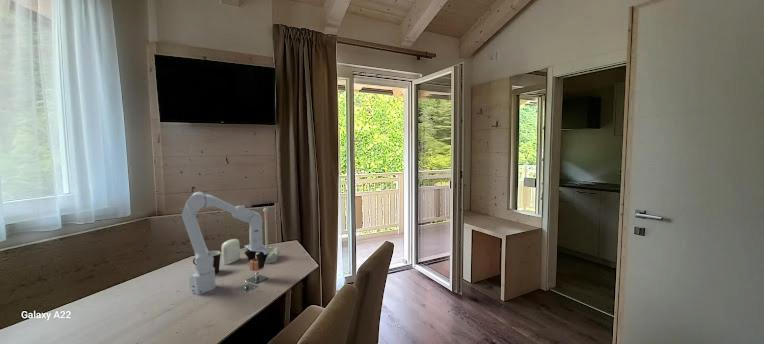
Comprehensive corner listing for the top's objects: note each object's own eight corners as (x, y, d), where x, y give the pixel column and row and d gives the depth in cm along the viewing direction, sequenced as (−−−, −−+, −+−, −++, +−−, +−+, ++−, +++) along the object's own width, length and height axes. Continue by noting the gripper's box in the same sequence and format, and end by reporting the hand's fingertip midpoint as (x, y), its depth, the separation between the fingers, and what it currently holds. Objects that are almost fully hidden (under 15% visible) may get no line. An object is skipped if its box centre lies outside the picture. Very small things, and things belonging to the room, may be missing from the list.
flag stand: (253, 258, 179) (251, 206, 176) (277, 254, 185) (275, 204, 182) (256, 265, 167) (254, 211, 165) (281, 261, 173) (279, 208, 171)
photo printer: (226, 265, 168) (225, 243, 167) (220, 264, 169) (219, 242, 168) (241, 259, 177) (240, 237, 176) (235, 258, 179) (234, 237, 178)
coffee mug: (224, 269, 162) (224, 251, 161) (214, 276, 154) (213, 256, 153) (204, 268, 163) (203, 250, 162) (192, 275, 155) (191, 256, 154)
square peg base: (256, 286, 143) (255, 276, 143) (246, 282, 147) (245, 273, 146) (268, 280, 149) (268, 271, 149) (258, 277, 153) (258, 268, 153)
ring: (255, 271, 143) (255, 263, 143) (247, 269, 146) (246, 261, 146) (266, 267, 149) (265, 259, 148) (257, 265, 151) (257, 257, 151)
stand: (245, 294, 135) (244, 285, 135) (234, 291, 138) (234, 282, 138) (258, 288, 141) (258, 279, 141) (248, 284, 144) (248, 276, 144)
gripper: (273, 238, 146) (274, 266, 147) (253, 234, 153) (254, 260, 155) (260, 242, 140) (261, 271, 141) (240, 237, 147) (241, 265, 148)
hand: (257, 266), depth 148 cm, fingers closed on ring, 6 cm apart
